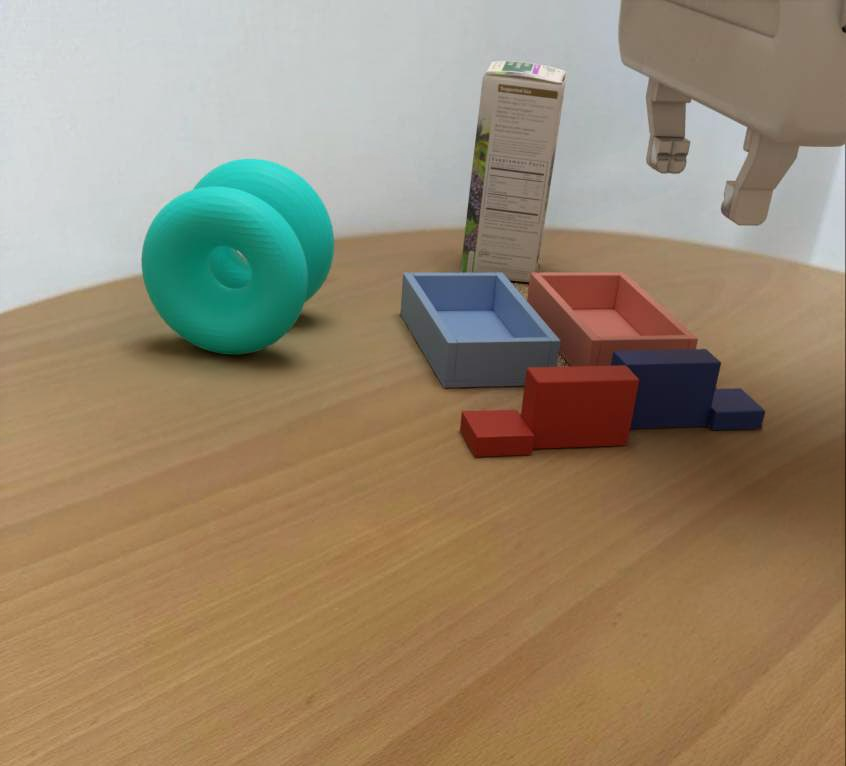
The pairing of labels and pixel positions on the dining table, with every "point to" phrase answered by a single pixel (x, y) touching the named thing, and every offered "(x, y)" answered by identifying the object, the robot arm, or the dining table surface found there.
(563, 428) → the two-tier red step
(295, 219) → the turquoise yo-yo
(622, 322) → the red bin
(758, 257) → the dining table surface
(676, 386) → the dark blue l-shaped piece
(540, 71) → the syrup box
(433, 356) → the blue bin
